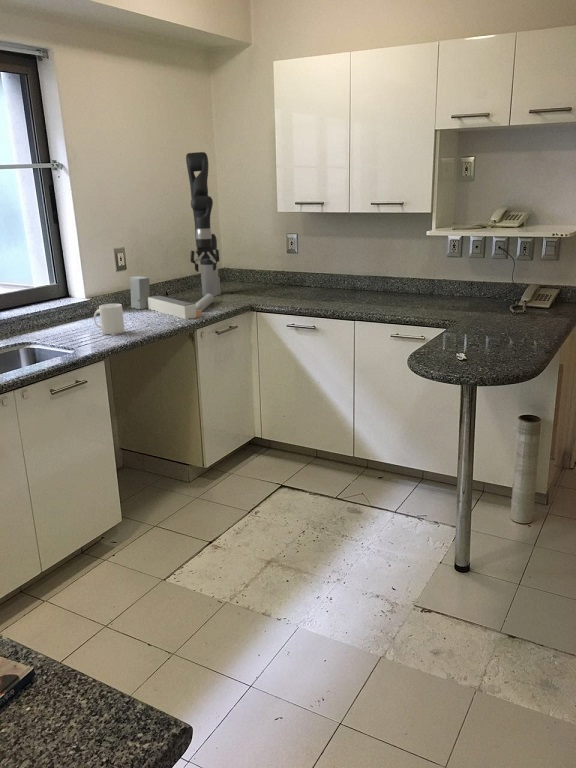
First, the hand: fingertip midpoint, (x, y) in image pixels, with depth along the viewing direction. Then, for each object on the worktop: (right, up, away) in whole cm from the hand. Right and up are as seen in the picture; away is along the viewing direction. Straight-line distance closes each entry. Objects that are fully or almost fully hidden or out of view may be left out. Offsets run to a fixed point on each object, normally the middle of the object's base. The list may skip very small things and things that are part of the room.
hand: (205, 271), depth 326 cm
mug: (-35, -35, -46) cm, 67 cm away
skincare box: (-33, -18, +6) cm, 38 cm away
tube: (-1, -18, +2) cm, 19 cm away
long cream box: (-14, -22, -8) cm, 27 cm away
